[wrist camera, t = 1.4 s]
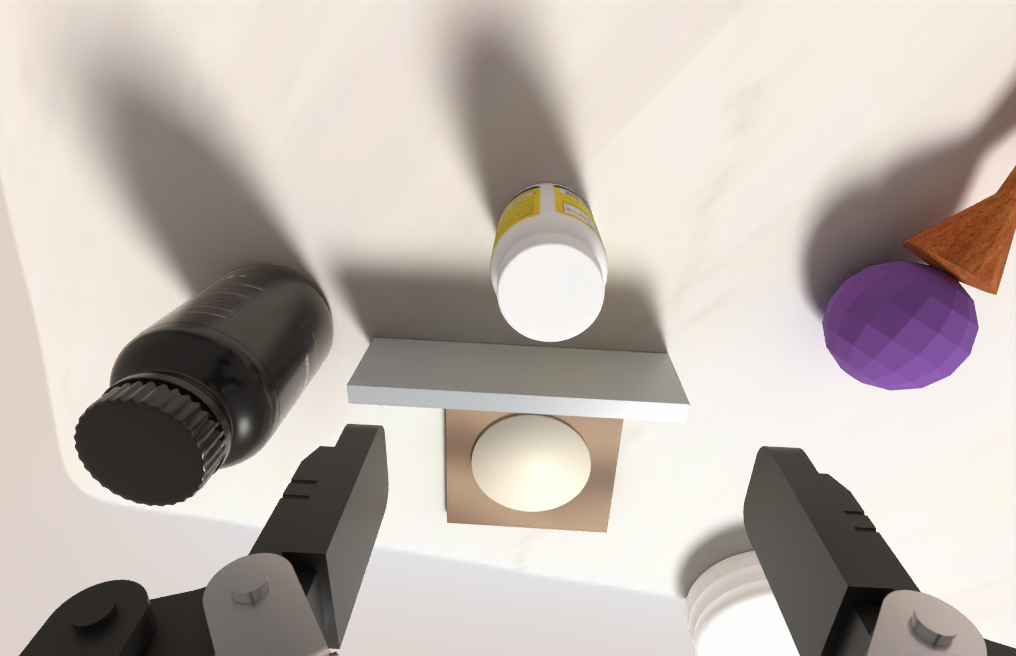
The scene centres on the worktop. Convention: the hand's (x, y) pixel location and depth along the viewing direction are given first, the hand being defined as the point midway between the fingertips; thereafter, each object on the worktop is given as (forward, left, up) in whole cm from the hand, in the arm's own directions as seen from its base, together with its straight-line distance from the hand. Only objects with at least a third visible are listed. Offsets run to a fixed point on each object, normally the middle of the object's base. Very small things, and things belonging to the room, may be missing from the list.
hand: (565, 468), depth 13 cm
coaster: (+25, +16, -18) cm, 35 cm away
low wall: (+7, -1, -18) cm, 19 cm away
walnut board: (+14, 0, -18) cm, 23 cm away
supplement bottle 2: (0, 0, -18) cm, 18 cm away
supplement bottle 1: (+6, -15, -18) cm, 24 cm away
